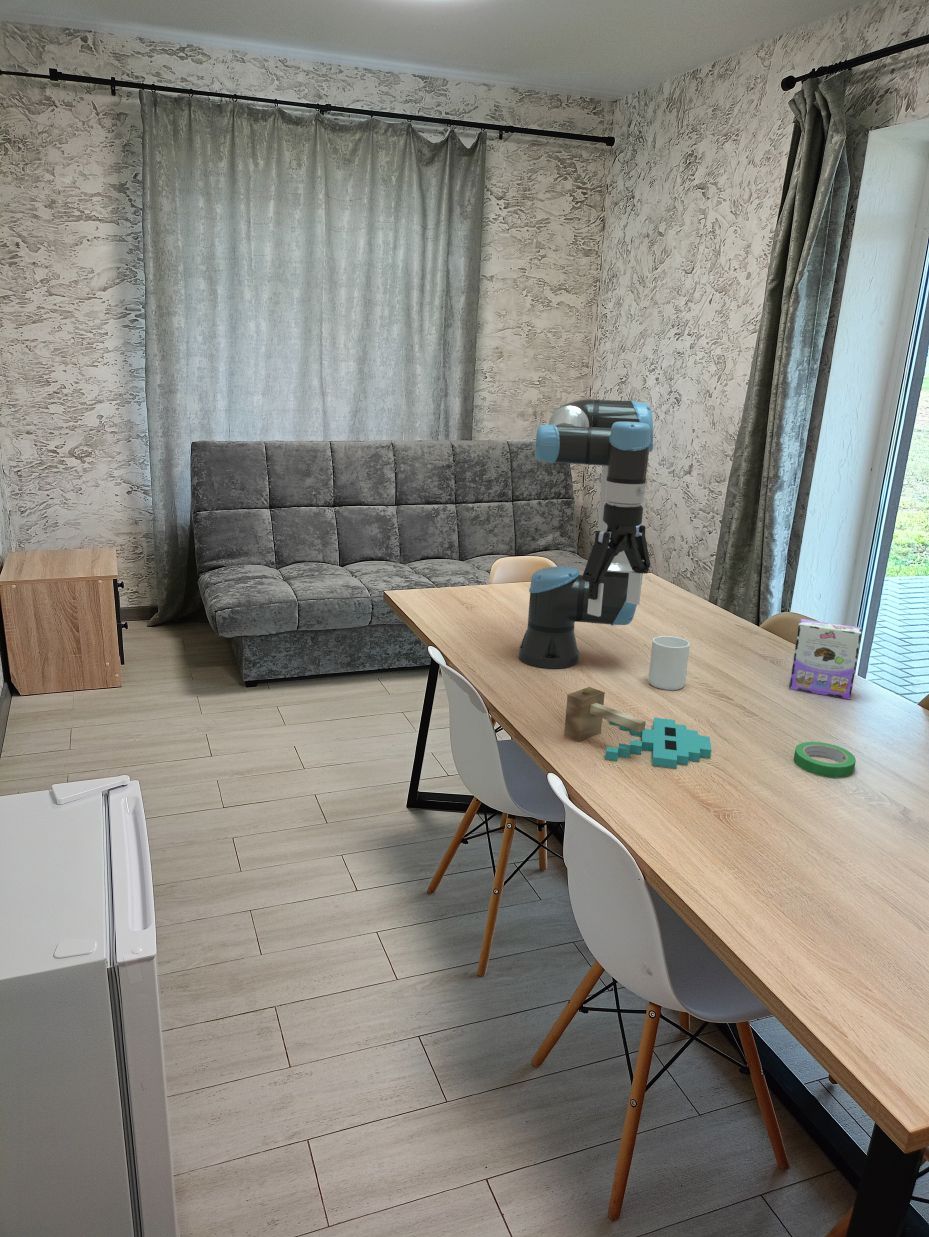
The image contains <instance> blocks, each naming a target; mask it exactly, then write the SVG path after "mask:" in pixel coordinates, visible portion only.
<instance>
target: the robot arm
mask: <svg viewBox="0 0 929 1237" xmlns="http://www.w3.org/2000/svg"><path fill="white" fill-rule="evenodd" d="M534 447H535V448H534V449H535V450H534V452H535V453H534V455H535V460H536V461H538V462H543V463H549V464H572V465H573V464H574V465H575V464H576V465H586V466H587V465H588V466H600V467H601V466H602V473H601V485H600V497H599V498H600V499H599V507H598V508H599V510H598V519H597V520H598V521H597V531H596V533H595V538H594V544H593V546H592V549H591V552H590V554H589V557H588V560H587V563H586V565H585V568H584V570H583V574H580V572H579V569H578V568H576V567H570V566H563V565H561V566H551V567H550V566H549V567H545V568H540V569H538V570H537V571H535V572H534V573H533V574H532V576H531V578H530V585H529V586H530V587H529V589H528V590H529V591H528V593H529V603H528V604H529V605H528V617H527V628H526V631H525V633H524V635H523V639H522V641H521V643H520V645H519V649H518V659H519V660H520V661H521V662H523V663H525V664H527V665H530V666H533V667H536V668H537V667H538V668H542V669H543V668H544V669H545V668H546V669H564V668H570V667H573V666H575V665H577V664H578V663H579V660H580V659H579V658H580V651H579V648H578V644H577V640H576V635H575V622H576V623H588V624H600V625H610V626H627V625H629V624H631V623H632V622H633V620H634V617H635V614H636V610H637V606H638V605H640V601H641V592H642V585H643V584H642V583H643V575H644V574H648V573H649V569H650V568H651V561H650V556H649V550H648V545H647V539H646V538H647V537H646V529H647V528H646V525H642V522H643V514H644V507H643V505H642V504H643V503H644V502H645V493H646V482H647V472H648V470H647V469H648V464H649V463H648V462H649V453H652V451H653V448H654V420H653V411H652V408H651V406H650V405H649V404H648V403H647V402H640V401H635V400H634V401H633V400H616V399H615V400H613V399H610V400H609V399H607V400H606V399H592V398H591V399H590V398H589V399H588V398H587V399H586V398H585V399H580V400H579V399H578V400H575V401H572V402H568V403H566V404H563V405H561V406H559V407H557V409H555V410H554V411H553V413H552V414H551V416H550V418H549V421H548V424H540V425H539V426H537V429H536V435H535V446H534Z"/></svg>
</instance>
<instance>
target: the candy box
mask: <svg viewBox="0 0 929 1237" xmlns="http://www.w3.org/2000/svg"><path fill="white" fill-rule="evenodd" d="M862 629H863V628H862V627H861V626H854V625H846V624H840V623H832V622H825V621H818V620H812V619H807V618H806V619H805V618H800V621H799V623H798V626H797V633H796V634H797V636H796V642H795V647H794V655H793V660H792V667H791V675H790V680H789V686H788V689H789V690H793V691H801V692H805V693H811V694H818V695H822V696H828V697H835V698H839V699H840V698H841V699H846V700H850V699H851V698H852V692H853V691H852V690H853V687H854V680H855V675H856V669H857V666H858V658H859V653H860V645H861V639H862Z"/></svg>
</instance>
